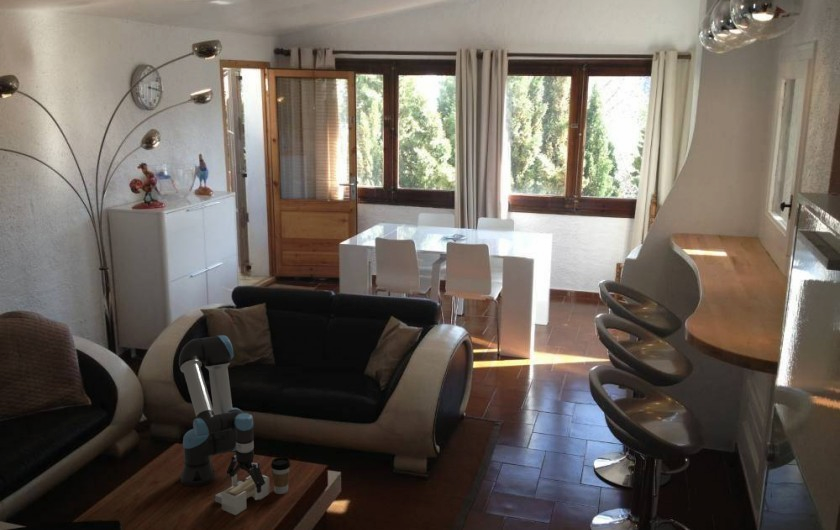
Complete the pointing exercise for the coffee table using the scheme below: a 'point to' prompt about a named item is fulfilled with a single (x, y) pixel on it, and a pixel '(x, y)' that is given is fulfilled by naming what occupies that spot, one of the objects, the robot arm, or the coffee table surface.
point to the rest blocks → (218, 496)
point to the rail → (244, 488)
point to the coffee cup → (280, 474)
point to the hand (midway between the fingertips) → (246, 494)
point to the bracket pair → (241, 498)
